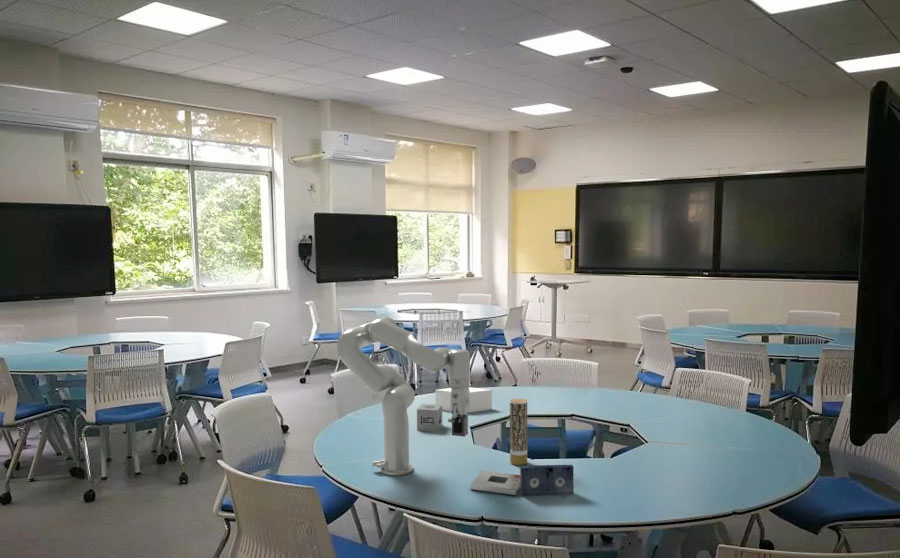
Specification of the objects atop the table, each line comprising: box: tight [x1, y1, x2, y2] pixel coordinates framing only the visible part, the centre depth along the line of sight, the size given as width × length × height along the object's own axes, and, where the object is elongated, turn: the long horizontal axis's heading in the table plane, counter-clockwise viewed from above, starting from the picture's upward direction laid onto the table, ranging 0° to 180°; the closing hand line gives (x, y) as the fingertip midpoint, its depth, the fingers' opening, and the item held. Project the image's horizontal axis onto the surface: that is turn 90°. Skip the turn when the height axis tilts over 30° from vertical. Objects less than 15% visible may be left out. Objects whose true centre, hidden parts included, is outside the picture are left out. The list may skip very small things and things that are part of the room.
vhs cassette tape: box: [519, 464, 575, 497], centre depth 206 cm, size 18×3×10 cm, turn 92°
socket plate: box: [470, 470, 520, 497], centre depth 213 cm, size 16×13×3 cm
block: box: [435, 386, 493, 414], centre depth 317 cm, size 15×30×11 cm, turn 88°
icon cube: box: [416, 403, 443, 432], centre depth 284 cm, size 10×10×10 cm
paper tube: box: [509, 398, 528, 466], centre depth 236 cm, size 7×7×25 cm
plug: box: [447, 414, 469, 437], centre depth 224 cm, size 7×4×7 cm, turn 70°
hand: (459, 430), depth 223 cm, fingers closed on plug, 4 cm apart
